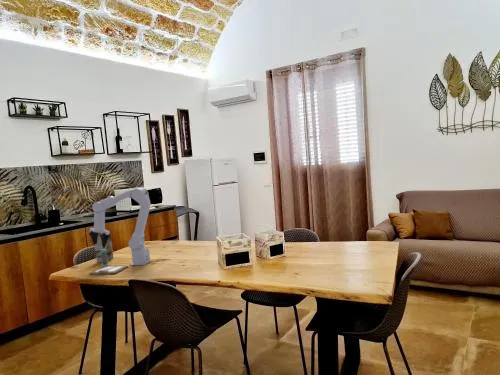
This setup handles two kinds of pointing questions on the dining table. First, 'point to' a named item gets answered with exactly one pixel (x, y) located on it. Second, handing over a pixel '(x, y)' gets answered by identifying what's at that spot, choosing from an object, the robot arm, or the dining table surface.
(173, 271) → the dining table surface
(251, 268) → the dining table surface
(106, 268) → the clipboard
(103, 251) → the marker
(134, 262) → the robot arm
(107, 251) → the coffee box
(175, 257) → the dining table surface
